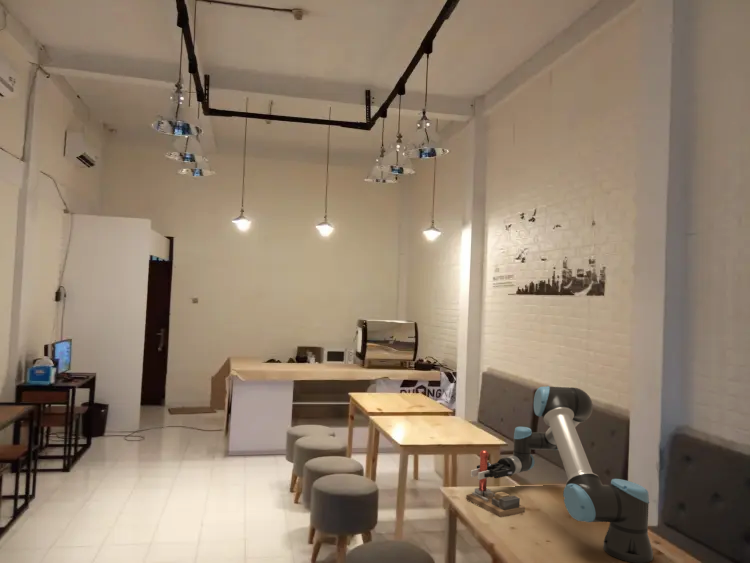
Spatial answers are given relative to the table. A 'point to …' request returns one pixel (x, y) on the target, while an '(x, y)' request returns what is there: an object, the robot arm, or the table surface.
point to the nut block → (501, 495)
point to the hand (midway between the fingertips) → (475, 475)
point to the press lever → (482, 483)
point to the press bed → (498, 504)
